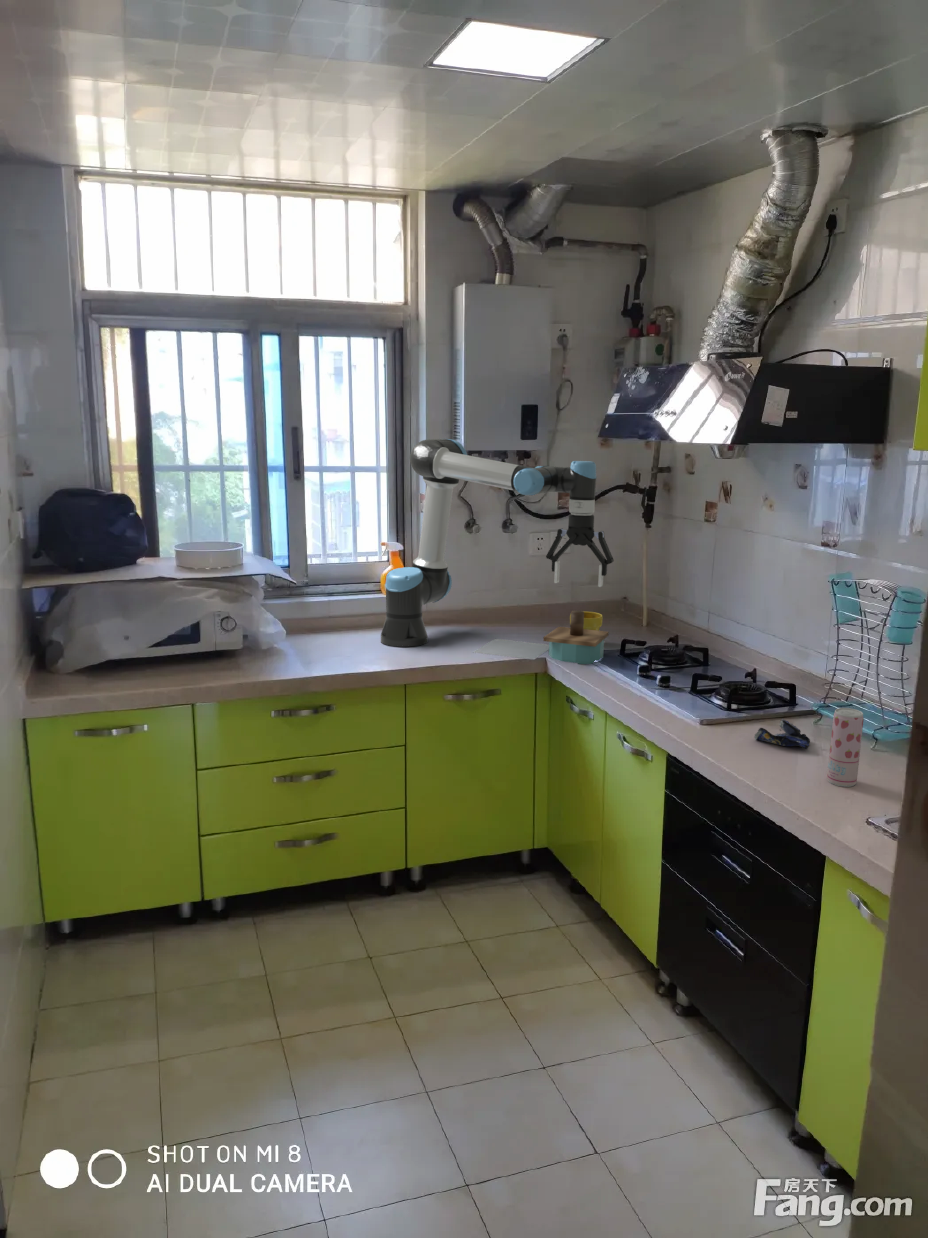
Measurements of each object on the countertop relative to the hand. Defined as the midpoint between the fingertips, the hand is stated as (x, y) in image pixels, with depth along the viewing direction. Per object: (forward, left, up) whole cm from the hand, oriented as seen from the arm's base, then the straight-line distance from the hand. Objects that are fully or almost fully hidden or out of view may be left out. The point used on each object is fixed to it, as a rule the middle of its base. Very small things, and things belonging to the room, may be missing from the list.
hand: (578, 584), depth 281 cm
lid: (0, 0, -17) cm, 17 cm away
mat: (-20, 0, -23) cm, 30 cm away
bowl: (0, 0, -23) cm, 23 cm away
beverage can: (+77, -74, -23) cm, 109 cm away
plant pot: (-2, +18, -23) cm, 29 cm away
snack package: (+65, -55, -23) cm, 88 cm away
